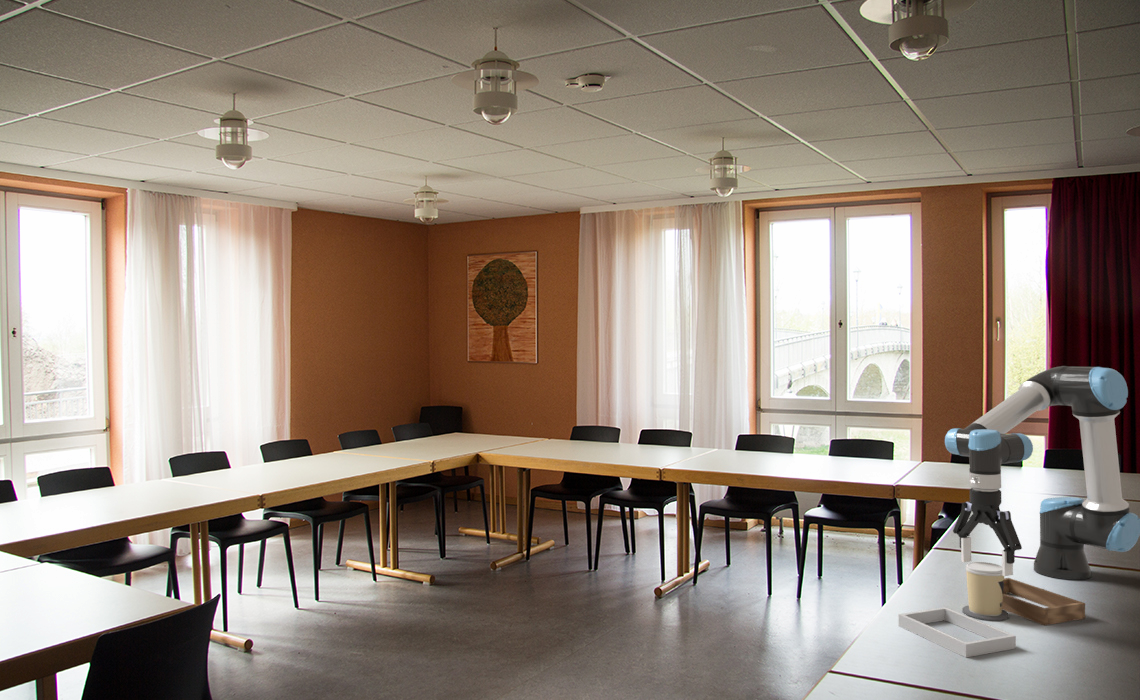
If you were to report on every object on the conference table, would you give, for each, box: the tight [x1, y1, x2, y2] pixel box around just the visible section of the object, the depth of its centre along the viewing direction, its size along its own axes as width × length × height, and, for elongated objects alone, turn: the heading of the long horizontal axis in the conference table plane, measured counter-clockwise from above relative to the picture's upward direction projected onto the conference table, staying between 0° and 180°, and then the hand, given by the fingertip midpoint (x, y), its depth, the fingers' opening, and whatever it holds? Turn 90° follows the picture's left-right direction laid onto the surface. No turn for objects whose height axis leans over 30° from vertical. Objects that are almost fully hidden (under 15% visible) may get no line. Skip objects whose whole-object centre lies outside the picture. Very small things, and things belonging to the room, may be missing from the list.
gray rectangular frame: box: [898, 606, 1017, 658], centre depth 205 cm, size 15×22×3 cm
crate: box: [1002, 577, 1086, 626], centre depth 225 cm, size 14×24×4 cm, turn 19°
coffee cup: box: [965, 561, 1005, 616], centre depth 221 cm, size 9×9×12 cm
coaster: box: [962, 604, 1010, 622], centre depth 221 cm, size 11×11×1 cm
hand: (986, 568), depth 221 cm, fingers open, 13 cm apart
